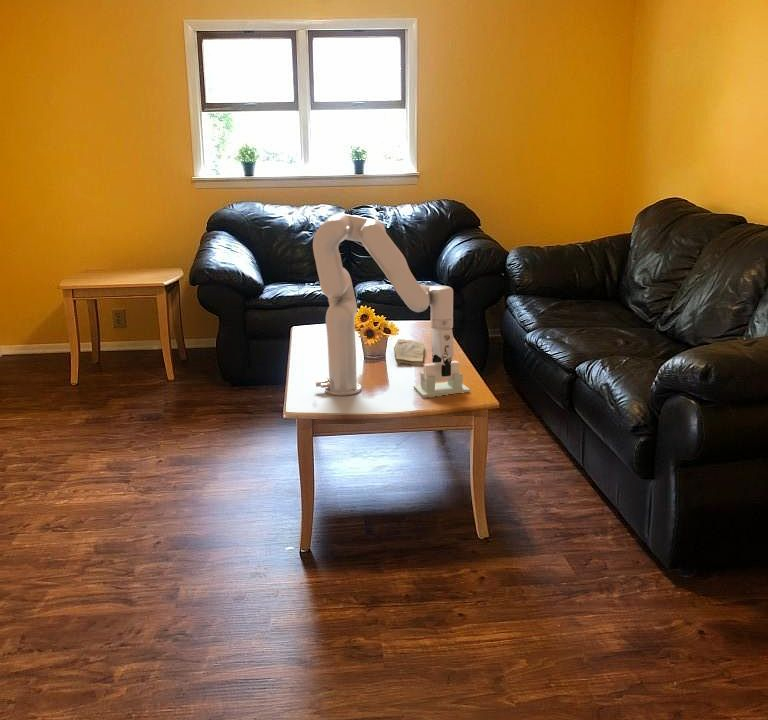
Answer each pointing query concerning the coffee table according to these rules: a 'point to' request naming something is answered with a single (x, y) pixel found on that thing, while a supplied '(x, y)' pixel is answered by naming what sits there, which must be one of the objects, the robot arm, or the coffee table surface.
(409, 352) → the stone slab
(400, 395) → the coffee table surface
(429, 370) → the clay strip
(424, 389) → the grey mounting plate
